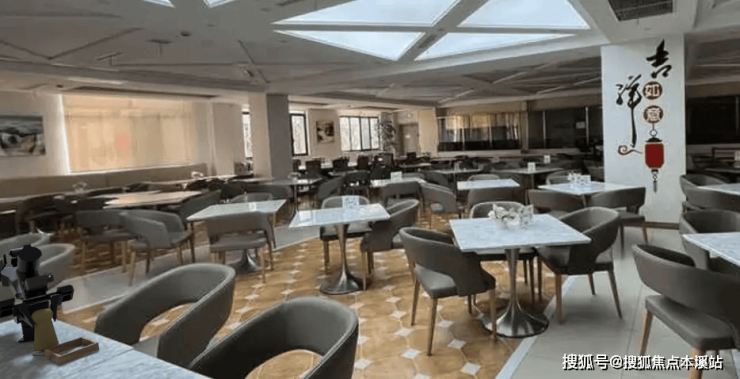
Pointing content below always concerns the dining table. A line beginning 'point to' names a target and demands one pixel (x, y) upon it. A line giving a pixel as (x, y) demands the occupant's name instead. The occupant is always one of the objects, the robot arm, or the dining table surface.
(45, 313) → the cork
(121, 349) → the dining table surface
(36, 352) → the grey round disc
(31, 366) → the dining table surface
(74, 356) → the frame
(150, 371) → the dining table surface
